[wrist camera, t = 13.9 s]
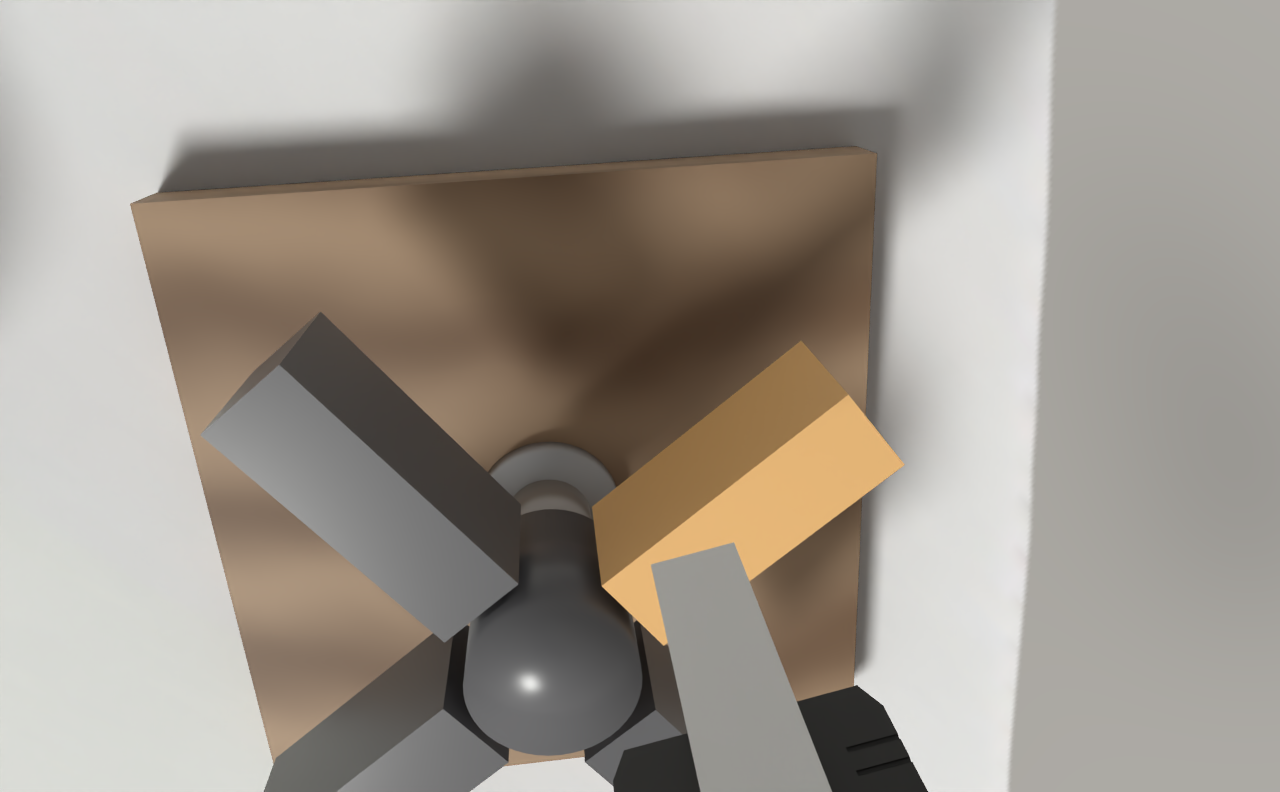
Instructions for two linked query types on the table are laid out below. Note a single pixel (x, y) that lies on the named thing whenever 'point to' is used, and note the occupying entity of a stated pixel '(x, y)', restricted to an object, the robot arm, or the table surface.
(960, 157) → the table surface
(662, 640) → the grey bar cross
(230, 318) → the stud base
